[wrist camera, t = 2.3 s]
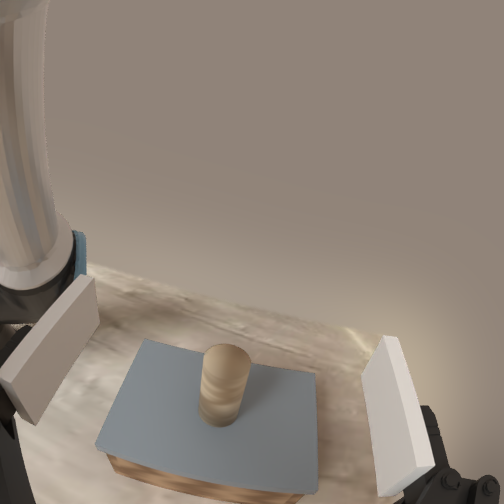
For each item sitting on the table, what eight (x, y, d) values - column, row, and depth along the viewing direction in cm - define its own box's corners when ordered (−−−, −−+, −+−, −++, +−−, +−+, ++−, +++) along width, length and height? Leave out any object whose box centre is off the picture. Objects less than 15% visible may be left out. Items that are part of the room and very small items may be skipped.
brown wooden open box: (115, 472, 31) (103, 447, 27) (150, 384, 45) (147, 349, 41) (289, 508, 30) (308, 490, 27) (292, 413, 45) (308, 382, 41)
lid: (97, 449, 26) (73, 396, 21) (145, 346, 41) (142, 284, 36) (313, 494, 26) (354, 455, 21) (311, 380, 41) (337, 323, 36)
